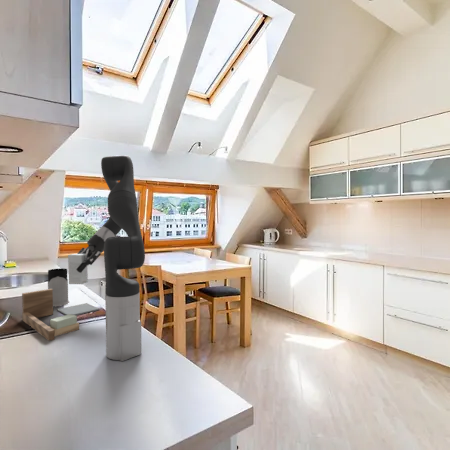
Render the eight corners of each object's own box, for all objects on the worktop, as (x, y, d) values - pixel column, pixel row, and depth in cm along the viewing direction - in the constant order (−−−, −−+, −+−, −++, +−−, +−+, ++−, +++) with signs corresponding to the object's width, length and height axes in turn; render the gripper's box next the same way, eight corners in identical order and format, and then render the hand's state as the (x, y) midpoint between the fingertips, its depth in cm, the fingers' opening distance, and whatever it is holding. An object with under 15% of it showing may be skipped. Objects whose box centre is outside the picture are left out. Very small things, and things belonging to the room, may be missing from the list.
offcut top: (77, 323, 109) (76, 315, 108) (57, 329, 103) (56, 321, 103) (70, 320, 111) (70, 313, 111) (50, 326, 105) (50, 319, 105)
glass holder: (46, 307, 133) (45, 272, 133) (47, 299, 146) (47, 267, 145) (69, 304, 137) (69, 270, 137) (68, 297, 150) (68, 265, 149)
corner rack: (82, 331, 106) (81, 302, 106) (49, 340, 98) (48, 309, 98) (51, 313, 125) (51, 288, 125) (21, 319, 118) (21, 293, 117)
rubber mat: (99, 310, 130) (99, 308, 130) (69, 317, 121) (69, 315, 121) (86, 304, 138) (86, 303, 138) (57, 310, 129) (57, 309, 129)
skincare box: (88, 282, 131) (87, 253, 131) (82, 284, 127) (81, 255, 126) (74, 282, 132) (73, 253, 131) (68, 284, 127) (67, 254, 127)
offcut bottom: (79, 330, 108) (79, 323, 108) (54, 337, 102) (54, 330, 102) (72, 327, 112) (72, 320, 111) (48, 333, 105) (48, 326, 105)
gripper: (87, 233, 139) (60, 262, 131) (103, 234, 129) (74, 266, 121) (99, 244, 143) (73, 273, 135) (115, 246, 133) (88, 278, 125)
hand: (74, 270), depth 128 cm, fingers closed on skincare box, 7 cm apart
